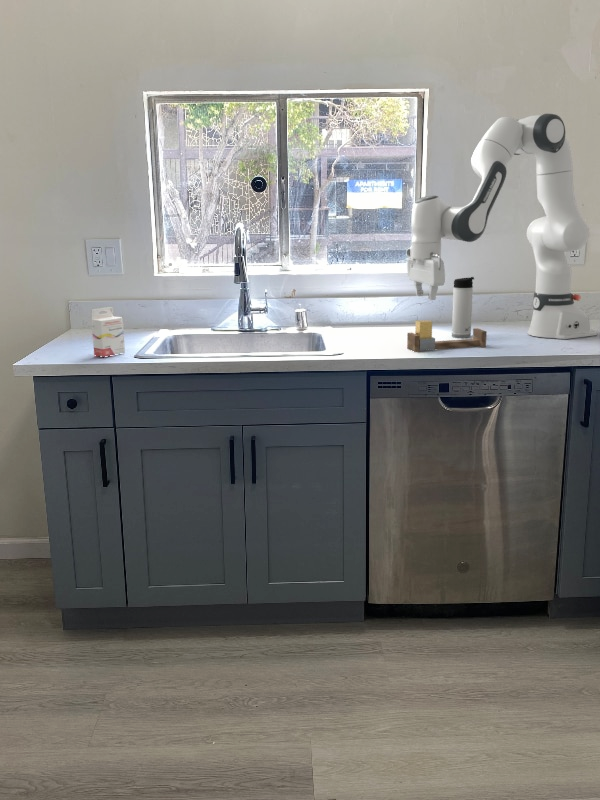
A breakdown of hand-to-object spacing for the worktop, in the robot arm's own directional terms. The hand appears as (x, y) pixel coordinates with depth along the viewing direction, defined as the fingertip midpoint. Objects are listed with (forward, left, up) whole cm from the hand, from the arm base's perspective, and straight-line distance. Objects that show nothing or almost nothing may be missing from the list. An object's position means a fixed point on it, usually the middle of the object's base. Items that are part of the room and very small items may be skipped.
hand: (425, 297), depth 225 cm
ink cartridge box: (+96, -24, -16) cm, 100 cm away
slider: (0, 0, -16) cm, 16 cm away
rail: (-7, 0, -16) cm, 18 cm away
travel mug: (-20, -16, -16) cm, 31 cm away
